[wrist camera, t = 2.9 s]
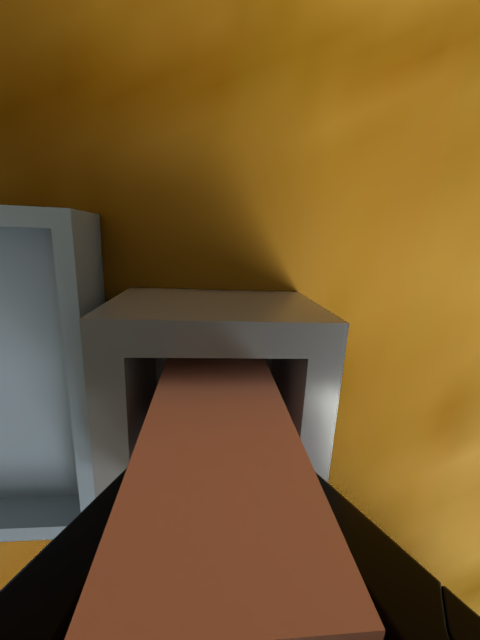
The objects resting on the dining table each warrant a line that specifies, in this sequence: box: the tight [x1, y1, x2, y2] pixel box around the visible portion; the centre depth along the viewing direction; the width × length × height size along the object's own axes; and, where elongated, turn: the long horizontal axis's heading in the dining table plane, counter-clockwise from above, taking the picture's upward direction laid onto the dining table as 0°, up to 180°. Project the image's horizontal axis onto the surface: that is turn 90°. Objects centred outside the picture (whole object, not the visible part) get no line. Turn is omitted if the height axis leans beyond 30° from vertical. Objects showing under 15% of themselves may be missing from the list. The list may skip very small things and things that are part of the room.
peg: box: [64, 358, 385, 640], centre depth 8 cm, size 3×3×10 cm
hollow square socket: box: [79, 287, 349, 498], centre depth 11 cm, size 7×7×5 cm
